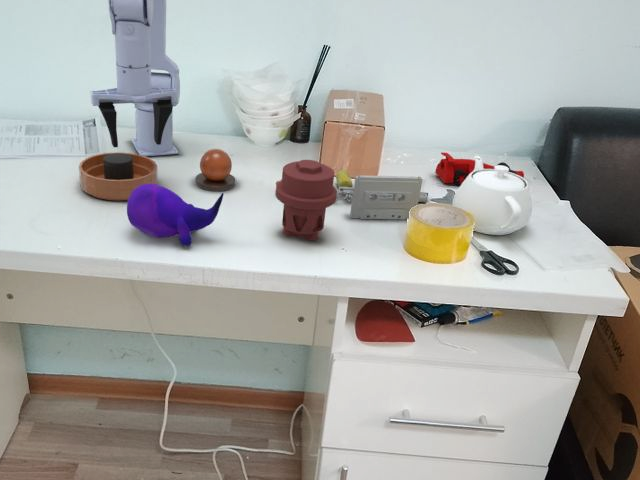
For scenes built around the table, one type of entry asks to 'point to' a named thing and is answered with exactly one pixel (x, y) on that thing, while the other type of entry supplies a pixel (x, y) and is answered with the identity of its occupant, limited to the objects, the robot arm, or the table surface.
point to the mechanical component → (305, 197)
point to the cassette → (384, 207)
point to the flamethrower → (347, 188)
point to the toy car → (461, 169)
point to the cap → (118, 166)
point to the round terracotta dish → (115, 189)
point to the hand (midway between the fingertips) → (136, 144)
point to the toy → (167, 213)
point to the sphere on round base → (215, 171)
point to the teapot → (495, 199)
